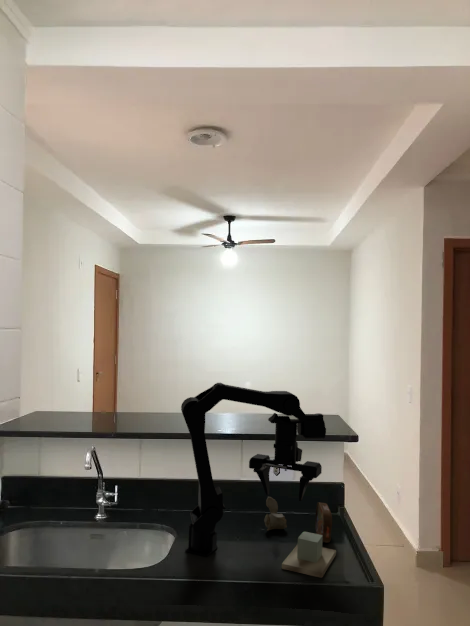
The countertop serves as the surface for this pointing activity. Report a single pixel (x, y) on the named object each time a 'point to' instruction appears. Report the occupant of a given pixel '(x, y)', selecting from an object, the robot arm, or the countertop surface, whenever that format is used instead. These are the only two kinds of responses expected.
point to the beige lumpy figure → (274, 516)
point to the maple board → (309, 563)
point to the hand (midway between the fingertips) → (283, 497)
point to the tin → (323, 521)
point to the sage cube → (309, 547)
